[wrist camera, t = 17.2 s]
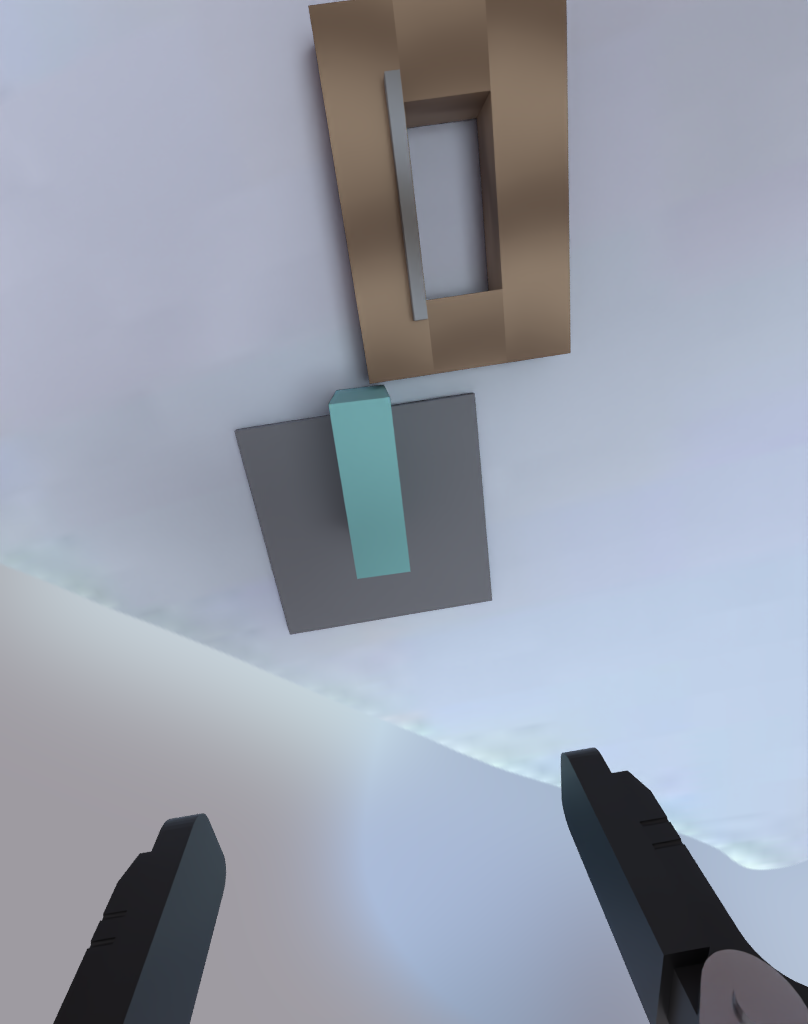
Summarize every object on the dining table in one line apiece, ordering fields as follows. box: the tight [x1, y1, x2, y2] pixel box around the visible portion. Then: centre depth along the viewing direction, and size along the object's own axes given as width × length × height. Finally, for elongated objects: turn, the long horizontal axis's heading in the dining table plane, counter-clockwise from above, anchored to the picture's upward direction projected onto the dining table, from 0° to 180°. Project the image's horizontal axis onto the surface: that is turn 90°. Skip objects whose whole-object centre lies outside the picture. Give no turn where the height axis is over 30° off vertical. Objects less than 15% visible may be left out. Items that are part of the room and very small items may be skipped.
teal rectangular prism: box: [328, 385, 411, 579], centre depth 23 cm, size 6×2×8 cm
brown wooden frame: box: [308, 0, 570, 384], centre depth 21 cm, size 14×10×3 cm
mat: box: [235, 393, 492, 634], centre depth 27 cm, size 13×13×1 cm
